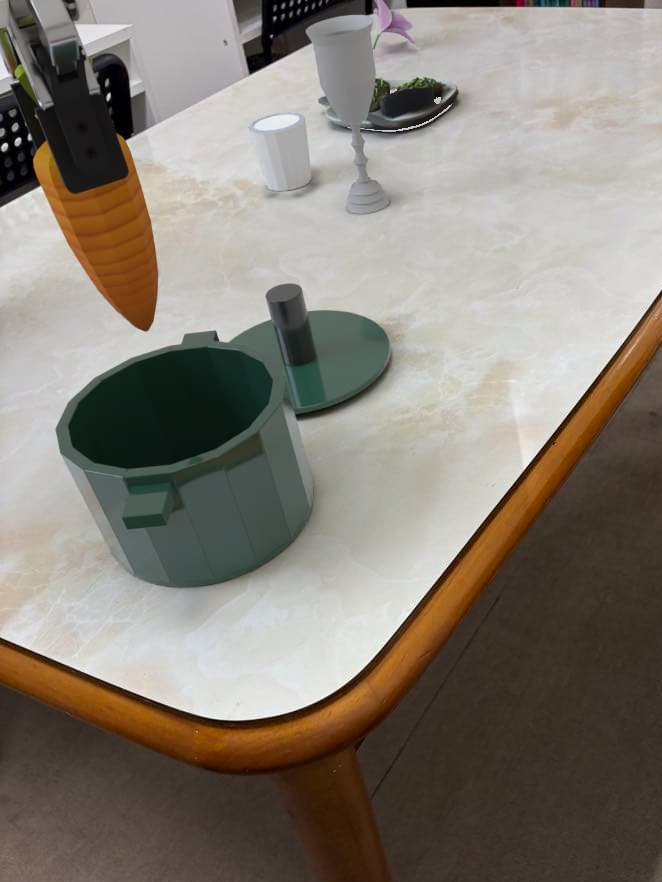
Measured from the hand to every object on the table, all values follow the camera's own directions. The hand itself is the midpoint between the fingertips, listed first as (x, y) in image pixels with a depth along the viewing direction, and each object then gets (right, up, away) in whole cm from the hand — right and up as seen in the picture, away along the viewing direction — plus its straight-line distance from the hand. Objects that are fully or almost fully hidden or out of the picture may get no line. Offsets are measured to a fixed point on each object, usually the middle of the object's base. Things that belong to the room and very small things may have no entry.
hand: (83, 166), depth 45 cm
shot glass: (+3, +24, +60) cm, 65 cm away
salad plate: (+15, +39, +74) cm, 85 cm away
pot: (+3, -18, +16) cm, 24 cm away
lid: (+8, -4, +28) cm, 30 cm away
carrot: (+1, -7, +7) cm, 10 cm away
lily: (+15, +61, +96) cm, 115 cm away
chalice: (+13, +18, +52) cm, 57 cm away
